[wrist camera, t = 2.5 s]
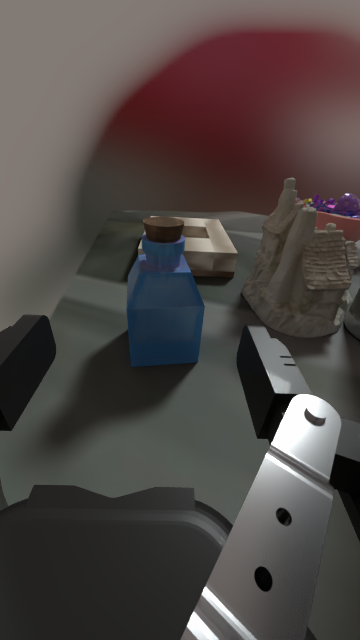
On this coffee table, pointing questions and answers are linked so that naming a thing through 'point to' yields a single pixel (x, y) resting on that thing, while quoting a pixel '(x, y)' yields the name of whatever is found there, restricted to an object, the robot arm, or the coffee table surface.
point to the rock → (301, 271)
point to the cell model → (338, 214)
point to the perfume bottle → (163, 299)
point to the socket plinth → (206, 248)
